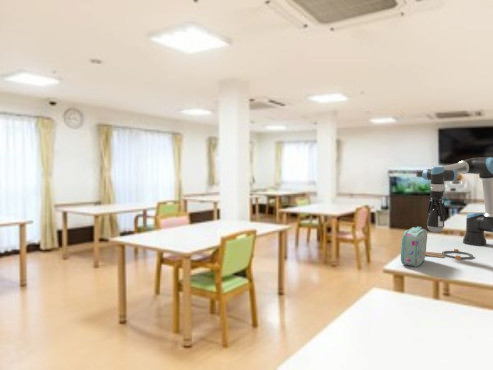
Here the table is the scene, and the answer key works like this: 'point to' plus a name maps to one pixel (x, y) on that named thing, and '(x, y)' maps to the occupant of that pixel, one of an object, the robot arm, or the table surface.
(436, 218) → the black rounded piece
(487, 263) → the table surface
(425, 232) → the lunch box
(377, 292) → the table surface
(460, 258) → the collar
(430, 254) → the coaster
